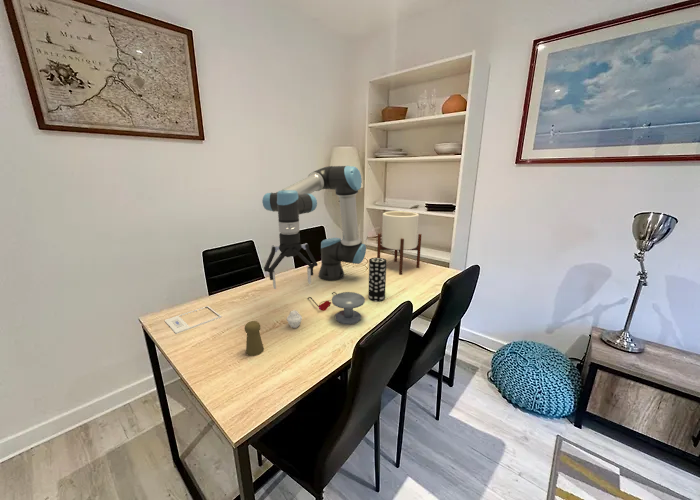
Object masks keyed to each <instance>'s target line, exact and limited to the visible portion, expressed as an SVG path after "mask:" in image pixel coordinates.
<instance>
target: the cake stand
mask: <svg viewBox="0 0 700 500" xmlns="http://www.w3.org/2000/svg"><path fill="white" fill-rule="evenodd" d="M365 303H366V301H365V297H364V295H362V294H360V293H358V292H352V291H351V292H350V291H345V292H339V293H337V294H334V295H333V296H332V297H331V304H332V305H334V306H335V307H337V308H340V309H342V310H339V311H338V312H337V313H336V314H335V320H336V321H337V322H338V323H339V324H342V325H354V324H357V323H359V322H360V321H361V320H362V314H361V313H360V312H359V311H357V310H354V309H356V308H360V307H362V306H363V305H364V304H365Z"/></svg>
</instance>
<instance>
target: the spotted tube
mask: <svg viewBox="0 0 700 500" xmlns="http://www.w3.org/2000/svg"><path fill="white" fill-rule="evenodd" d="M386 280H387V258H383V257H380V258H377V257H371V258H369V260H368V300H369V301H371V302H376V303H377V302H379V303H380V302H383V301H385V300H386V287H387V286H386V283H387V282H386Z"/></svg>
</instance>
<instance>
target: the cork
mask: <svg viewBox="0 0 700 500" xmlns="http://www.w3.org/2000/svg"><path fill="white" fill-rule="evenodd" d="M244 331H245V334H246V345H245V347H246V348H245V354H246V355H247V356H249V357H255V356H258V355H259V356H260V355H261V354H262V353H263V352H264V350H265V348H264V344H263V341H262V337H261V334H260V331H261V324H260V322H259V321H256V320H252V321H249V322H247V323H246V324H245V325H244Z"/></svg>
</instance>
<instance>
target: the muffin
mask: <svg viewBox="0 0 700 500" xmlns="http://www.w3.org/2000/svg"><path fill="white" fill-rule="evenodd" d="M286 321H287V323H288V325H289V326H290V328H293V329H296V328H299V326H300V324H301V323H302V321H303V316H302V315H301V314H300V313H299V311H298V310H295V309H294V310H292V311H290V312H289V314H288V316H287V317H286Z"/></svg>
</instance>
